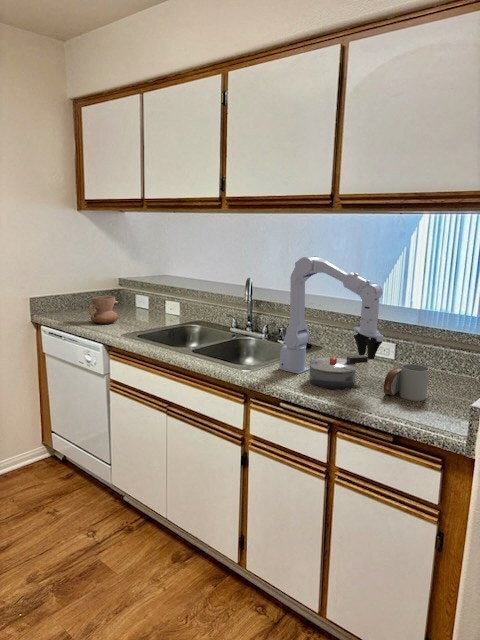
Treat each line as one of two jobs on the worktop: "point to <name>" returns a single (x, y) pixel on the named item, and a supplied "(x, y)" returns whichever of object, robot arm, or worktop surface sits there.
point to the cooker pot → (332, 379)
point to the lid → (337, 364)
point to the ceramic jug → (103, 310)
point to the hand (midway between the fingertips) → (366, 357)
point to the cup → (414, 382)
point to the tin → (393, 381)
